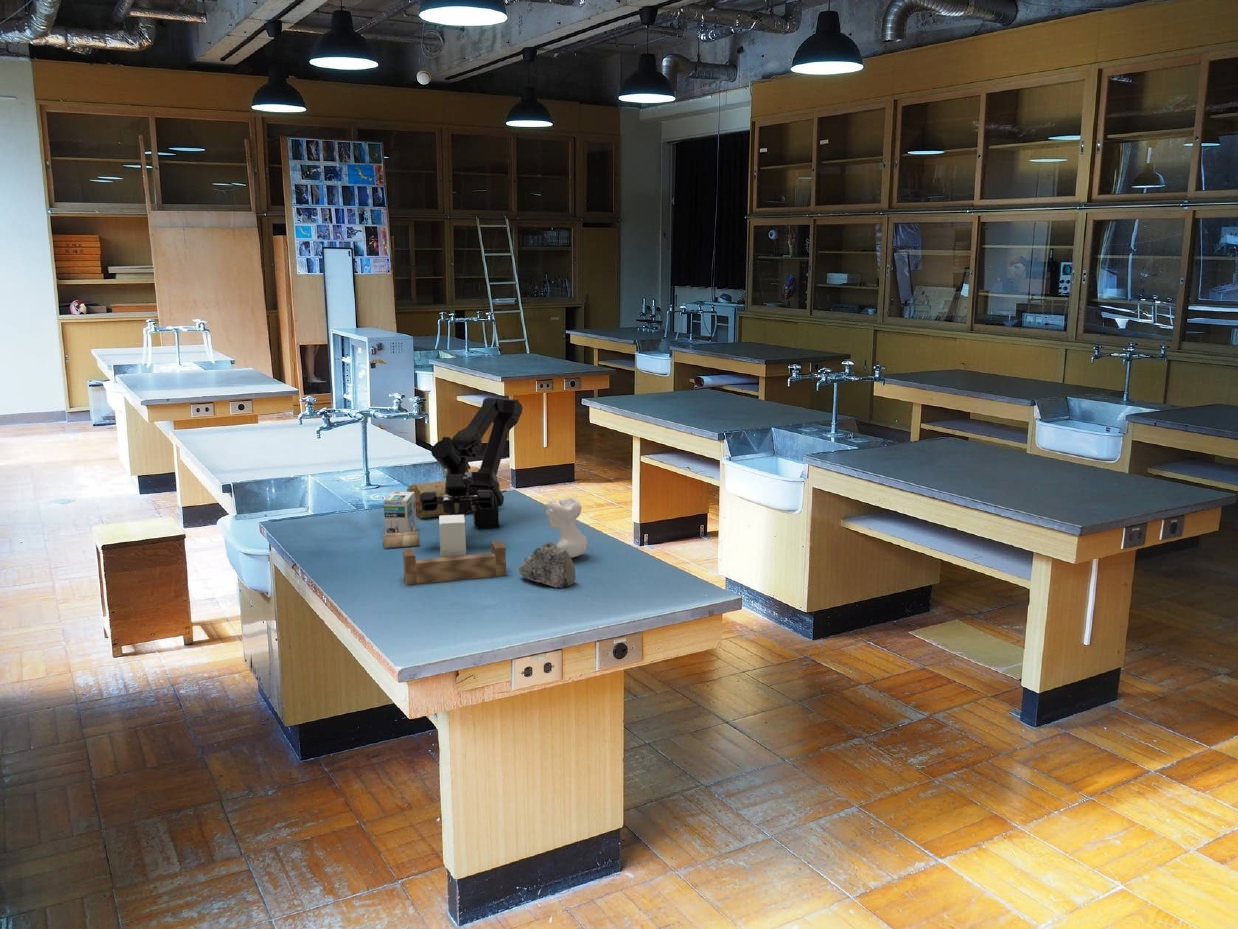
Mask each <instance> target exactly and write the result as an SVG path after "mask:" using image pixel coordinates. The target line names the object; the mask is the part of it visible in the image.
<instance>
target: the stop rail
mask: <svg viewBox="0 0 1238 929" xmlns="http://www.w3.org/2000/svg"><path fill="white" fill-rule="evenodd" d="M490 546H491V548H490V549H491V552H488V553H479V554H478V553H477V554H466V555H464V556H453V557H442V558H440V557H433V558H421V559H416V553H415V550H414V548H413V547H412V548H403V549H402V559H403V560H402V561H403V577H404V578H403V579H404V581H405V584H406V586H409V585H419V584H420V585H421V584H429V583H440V582H450V581H461V580H471V579H472V580H473V579H480V578H482V579H483V578H490V577H491V578H492V577H502V576H507V558H506V557H507V556H506V555H507V553H506V550H507V549H506V546H505V544H504V543H503V542H502V540H496V541H495V540H494V541H491V544H490Z"/></svg>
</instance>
